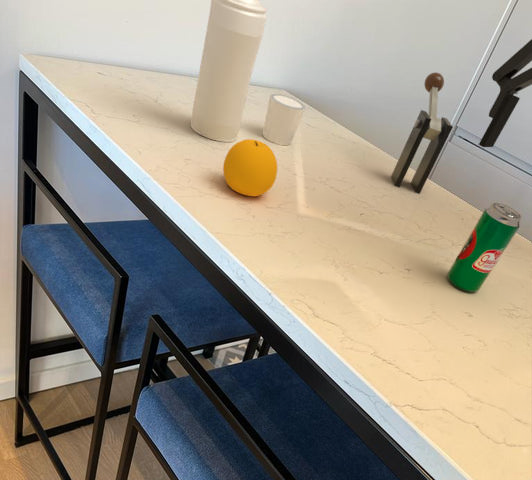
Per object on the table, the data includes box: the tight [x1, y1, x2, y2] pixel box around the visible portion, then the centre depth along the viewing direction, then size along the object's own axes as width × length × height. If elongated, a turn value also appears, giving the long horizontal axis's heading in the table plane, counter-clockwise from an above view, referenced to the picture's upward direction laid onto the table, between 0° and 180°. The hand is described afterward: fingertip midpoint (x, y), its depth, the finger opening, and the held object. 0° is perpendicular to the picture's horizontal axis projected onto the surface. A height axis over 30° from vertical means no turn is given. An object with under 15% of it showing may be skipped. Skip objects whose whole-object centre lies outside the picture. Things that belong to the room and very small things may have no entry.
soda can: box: [447, 202, 523, 293], centre depth 80 cm, size 5×5×12 cm
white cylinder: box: [262, 93, 306, 146], centre depth 105 cm, size 7×7×7 cm
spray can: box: [190, 0, 268, 143], centre depth 92 cm, size 12×11×25 cm
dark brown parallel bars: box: [390, 109, 454, 195], centre depth 102 cm, size 10×8×14 cm
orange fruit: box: [222, 138, 278, 197], centre depth 83 cm, size 8×8×8 cm
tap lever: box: [423, 72, 445, 141], centre depth 101 cm, size 14×3×3 cm, turn 178°
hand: (528, 170), depth 73 cm, fingers open, 13 cm apart
